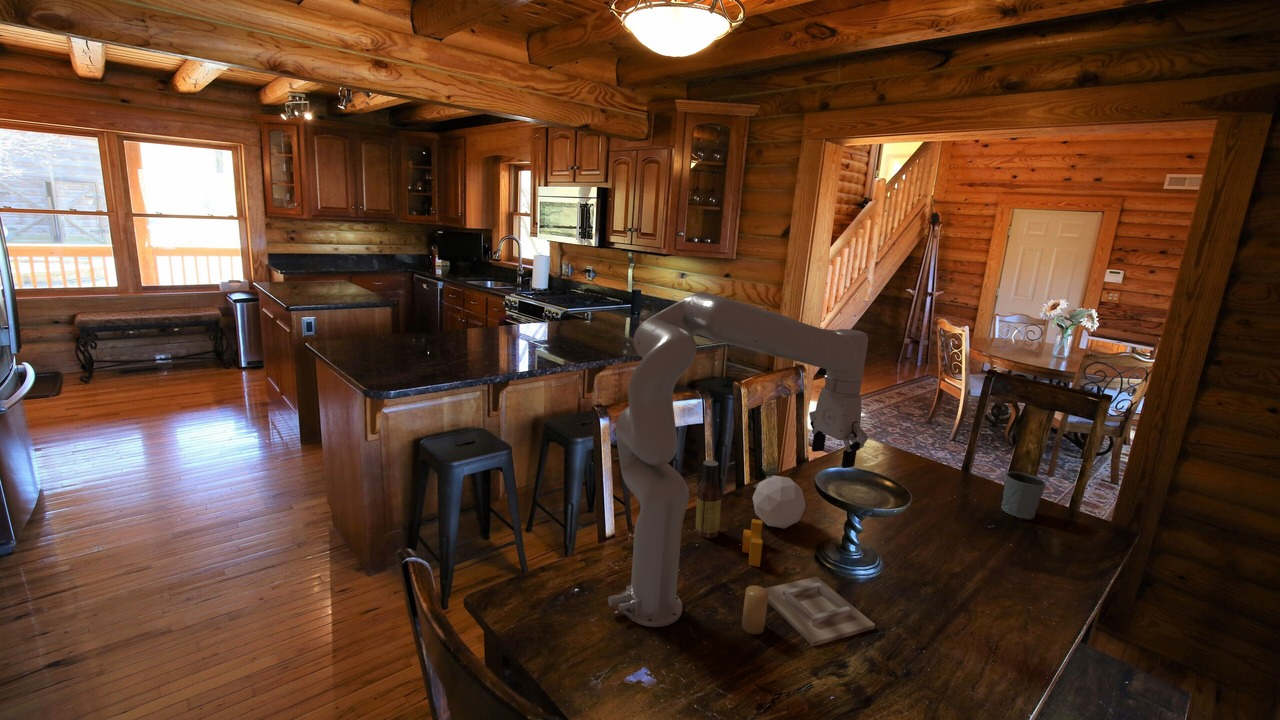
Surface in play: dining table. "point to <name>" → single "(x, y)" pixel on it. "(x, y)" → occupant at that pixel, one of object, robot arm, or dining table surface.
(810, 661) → the dining table surface
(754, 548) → the orange blocky piece
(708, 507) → the sauce bottle
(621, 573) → the dining table surface
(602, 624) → the dining table surface
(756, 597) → the tan rounded oblong piece
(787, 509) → the geodesic sphere
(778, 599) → the grey square framed plate
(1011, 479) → the gray cup
